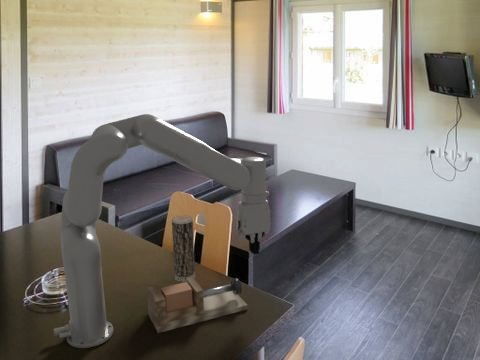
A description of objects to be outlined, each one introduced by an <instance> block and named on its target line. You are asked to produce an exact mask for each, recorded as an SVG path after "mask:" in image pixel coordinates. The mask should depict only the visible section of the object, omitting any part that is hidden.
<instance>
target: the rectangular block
mask: <svg viewBox="0 0 480 360" xmlns="http://www.w3.org/2000/svg"><path fill="white" fill-rule="evenodd" d="M160 291H161V293H162V295H163V296H164V298H165V302H166V313H168V312H172V311H176V310H180V309H184V308H188V307H192V306H193V303H192V289H191V287H190V286H189V285H188V283H187V282H184V283H180V284H175V283H174V284H171V285H167V286H163V287H160Z"/></svg>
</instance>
